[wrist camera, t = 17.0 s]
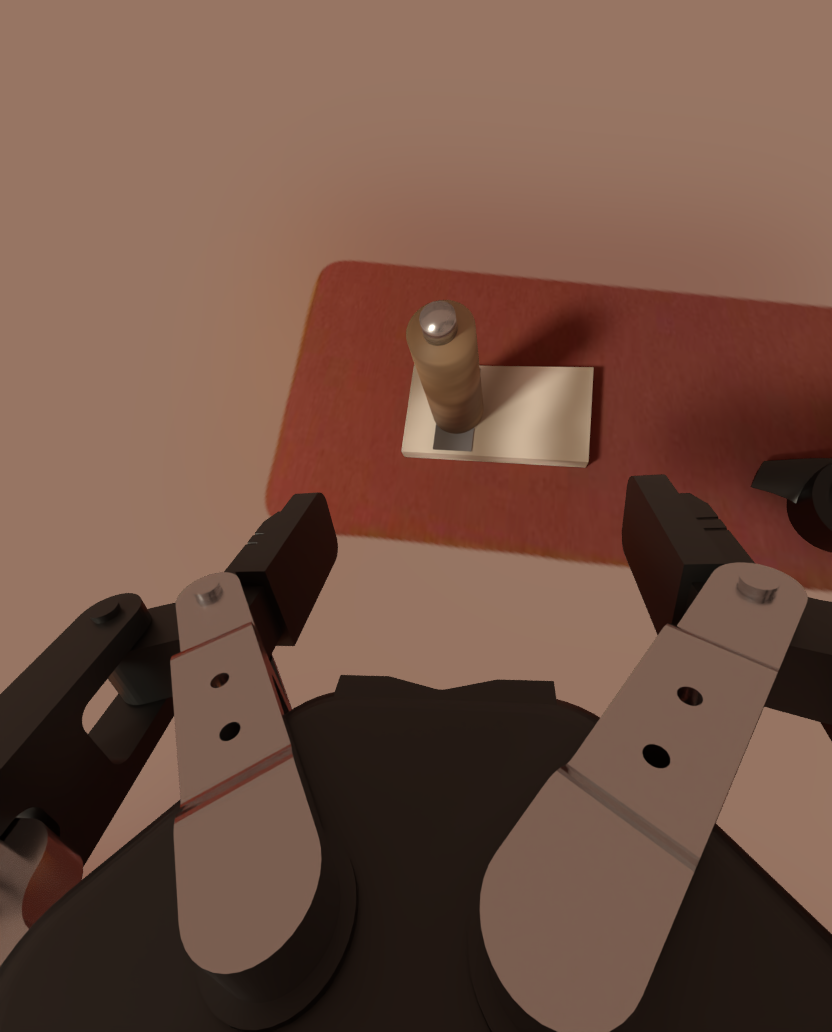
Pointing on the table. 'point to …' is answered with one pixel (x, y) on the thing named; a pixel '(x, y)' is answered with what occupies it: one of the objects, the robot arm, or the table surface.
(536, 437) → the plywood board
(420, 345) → the wooden pepper mill
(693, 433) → the table surface
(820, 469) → the black winged cup
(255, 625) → the robot arm
